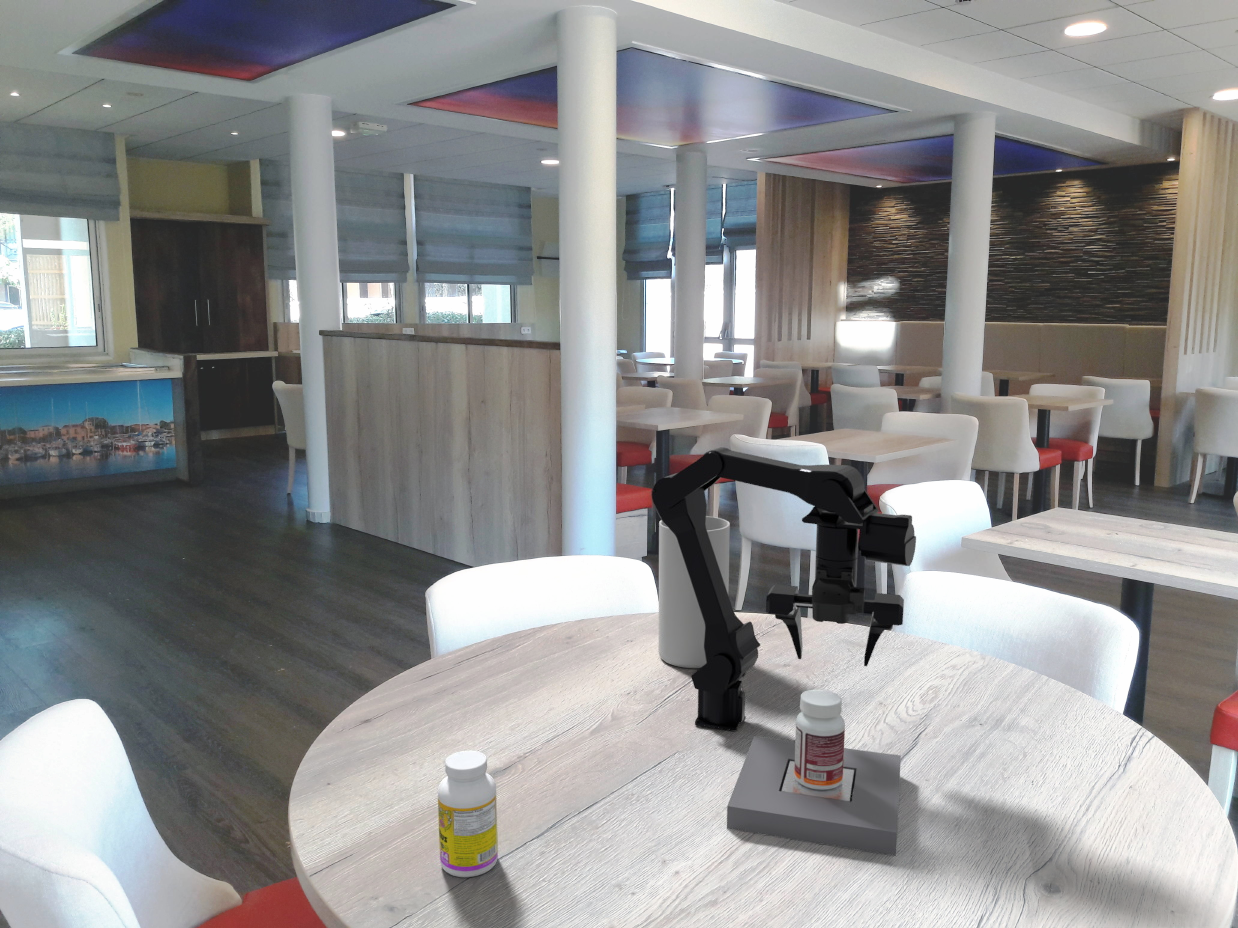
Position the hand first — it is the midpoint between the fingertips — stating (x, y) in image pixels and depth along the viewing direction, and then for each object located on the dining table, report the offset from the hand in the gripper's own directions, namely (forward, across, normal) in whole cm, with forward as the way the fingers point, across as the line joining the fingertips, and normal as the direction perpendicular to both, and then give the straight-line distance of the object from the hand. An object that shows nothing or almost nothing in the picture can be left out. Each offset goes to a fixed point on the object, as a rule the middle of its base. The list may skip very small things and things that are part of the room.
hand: (832, 661), depth 137 cm
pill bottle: (+10, 0, -16) cm, 19 cm away
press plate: (+13, 0, -16) cm, 21 cm away
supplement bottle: (+13, -37, -42) cm, 58 cm away
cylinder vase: (+13, -27, +29) cm, 42 cm away
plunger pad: (+13, 0, -16) cm, 21 cm away
